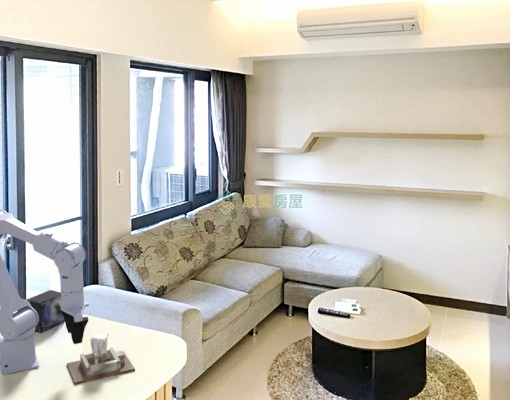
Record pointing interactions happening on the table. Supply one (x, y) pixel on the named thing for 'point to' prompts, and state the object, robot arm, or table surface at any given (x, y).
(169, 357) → the table surface
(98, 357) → the milkshake
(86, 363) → the pocket plate
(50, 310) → the small box
